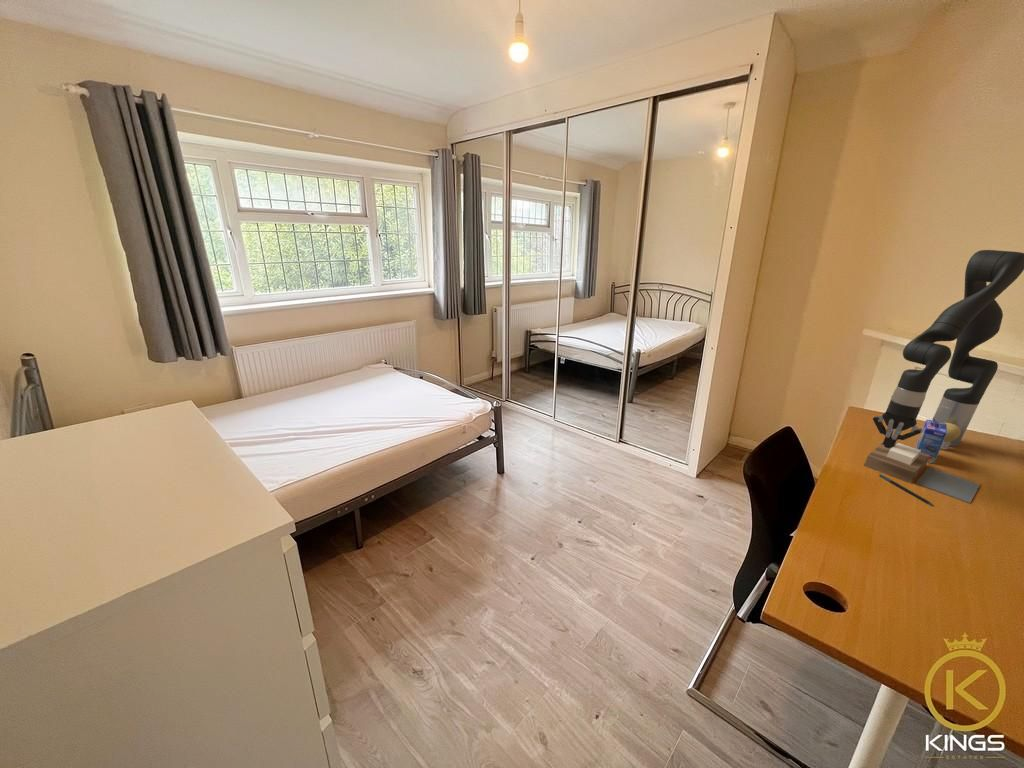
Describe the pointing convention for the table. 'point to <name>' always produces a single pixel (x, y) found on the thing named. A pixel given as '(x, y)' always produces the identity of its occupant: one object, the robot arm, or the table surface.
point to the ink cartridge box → (932, 439)
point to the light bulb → (950, 434)
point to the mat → (948, 484)
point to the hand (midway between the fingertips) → (887, 447)
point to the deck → (895, 464)
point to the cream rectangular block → (903, 453)
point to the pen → (906, 490)
